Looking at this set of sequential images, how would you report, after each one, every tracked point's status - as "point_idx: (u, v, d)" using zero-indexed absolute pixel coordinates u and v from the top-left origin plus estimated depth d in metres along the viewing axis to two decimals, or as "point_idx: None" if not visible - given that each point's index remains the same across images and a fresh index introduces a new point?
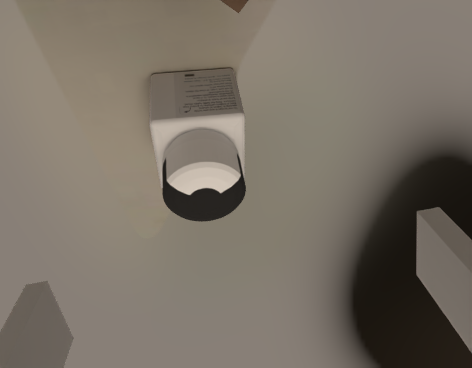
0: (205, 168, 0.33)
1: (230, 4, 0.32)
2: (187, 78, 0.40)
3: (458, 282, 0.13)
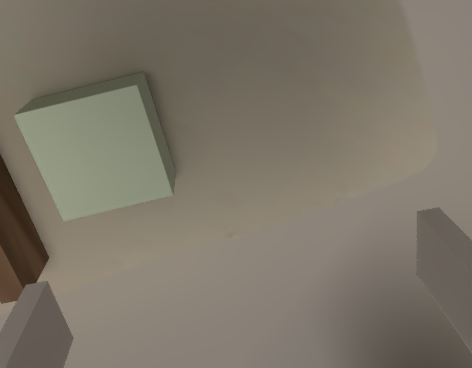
0: None
1: None
2: None
3: (458, 282, 0.13)
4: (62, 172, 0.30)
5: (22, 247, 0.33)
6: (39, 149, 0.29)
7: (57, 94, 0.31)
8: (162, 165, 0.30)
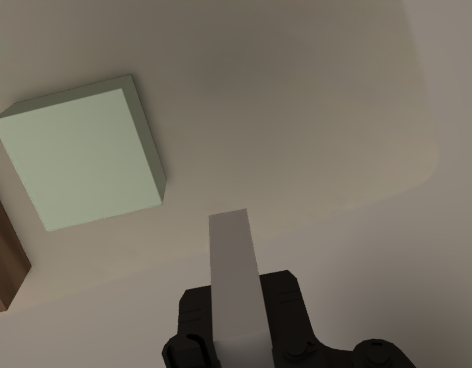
0: None
1: None
2: None
3: None
4: (44, 181, 0.28)
5: (2, 256, 0.32)
6: (19, 157, 0.27)
7: (39, 98, 0.29)
8: (150, 173, 0.28)
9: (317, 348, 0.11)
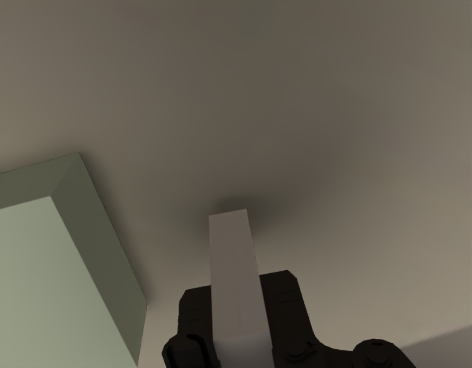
0: None
1: None
2: None
3: None
4: None
5: None
6: None
7: None
8: (113, 324, 0.17)
9: (317, 348, 0.11)
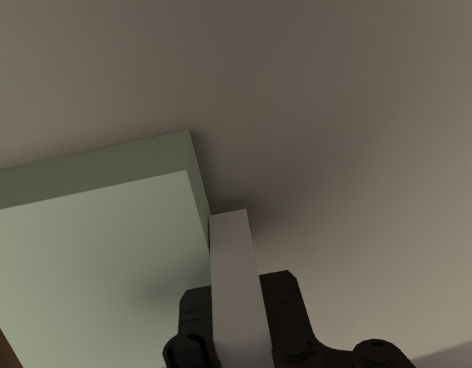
0: None
1: None
2: None
3: None
4: (37, 319, 0.16)
5: None
6: None
7: (31, 168, 0.17)
8: None
9: (317, 348, 0.11)
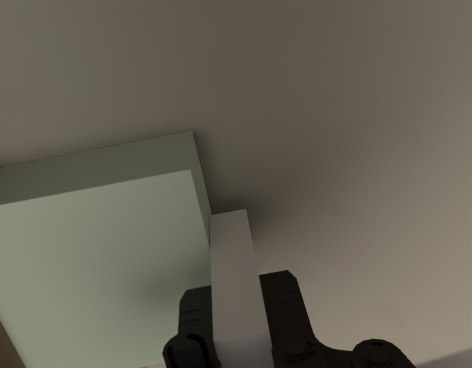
0: None
1: None
2: None
3: None
4: (37, 313, 0.16)
5: None
6: None
7: (35, 164, 0.17)
8: None
9: (317, 348, 0.11)
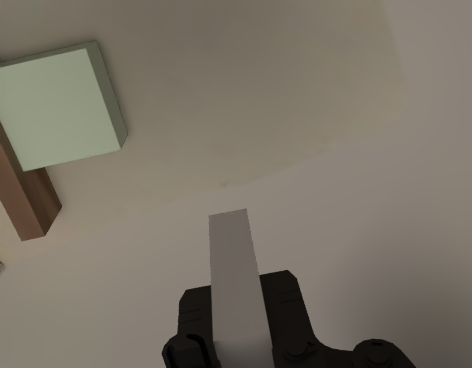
0: None
1: (19, 232, 0.36)
2: None
3: None
4: (22, 126, 0.34)
5: (39, 192, 0.37)
6: (0, 105, 0.33)
7: (19, 58, 0.35)
8: (110, 122, 0.34)
9: (317, 348, 0.11)
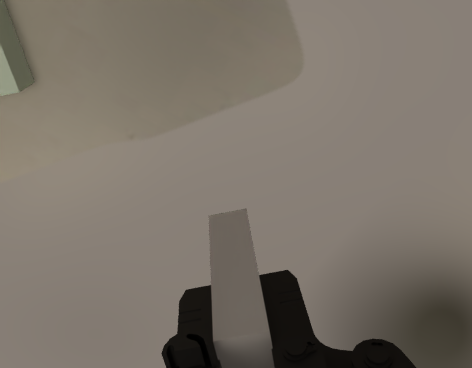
0: None
1: None
2: None
3: None
4: None
5: None
6: None
7: None
8: (7, 63, 0.36)
9: (317, 348, 0.11)
